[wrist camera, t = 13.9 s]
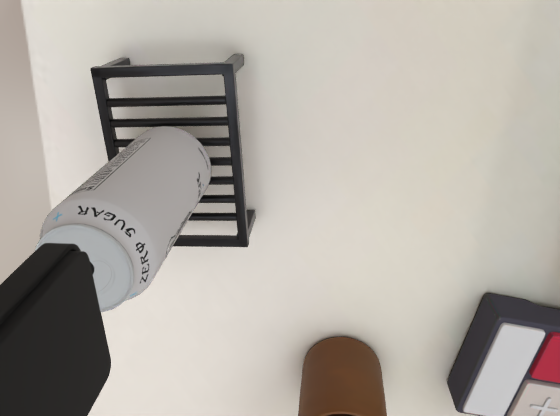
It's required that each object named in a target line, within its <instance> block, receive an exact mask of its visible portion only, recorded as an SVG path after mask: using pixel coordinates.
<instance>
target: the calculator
mask: <svg viewBox="0 0 560 416" xmlns="http://www.w3.org/2000/svg"><path fill="white" fill-rule="evenodd" d="M447 384H448V387H449V390H450V393H451V396H452V399H453V402H454V405H455V408H456V410H457V411H458V412H461V413H466V414H472V415H478V416H560V309H554V308H549V307H543V306H539V305H536V304H534V303H532V302H530V301H527V300H524V299H519V298H513V297H508V296H502V295H497V294H491V293H488V294H486V295H484V297H483V299H482V301H481V304H480V306H479V308H478V311H477V313H476V315H475V318H474V320H473V322H472V325H471V327H470V329H469V332H468V334H467V336H466V339H465V341H464V343H463V346H462V348H461V350H460V353H459V355H458V357H457V360H456V362H455V364H454V367H453V369H452V371H451V373H450V376H449V378H448V381H447Z"/></svg>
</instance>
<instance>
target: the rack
mask: <svg viewBox="0 0 560 416" xmlns="http://www.w3.org/2000/svg"><path fill="white" fill-rule="evenodd" d="M243 65H244V55H243V54H234V55H233V56H231V57H230V58H229V59H228V60H227V61H225V62H220V63H189V64H157V65H130V62H129V58H119V59H117V60H114V61H112V62H109V63H107V64H105V65H102V66H95V67H92V68H91V74H92V79H93V84H94V89H95V94H96V99H97V104H98V109H99V114H100V120H101V125H102V130H103V135H104V140H105V145H106V150H107V155H108V160H109V161H110V160H112V159H113V158H114V157H115V156H116V155H117V154H119V148H118V147H127V146H128V145H129V144H130V143H132V142H133V141H134V140H135V139H117V138H116V132H115V128H117V127H161V126H168V127H173V126H228V128H229V137H224V138H196V139H197V140H198V141H199V142H200V143H201V144H202V146H230V150H231V157H209V159H210V163H211V166H227V165H232V173H233V176H216V177H211V178H210V182H209V184H208V185H227V184H234V195H202V197H201V199H200V201H199V202H198V203H235V206H236V213H192V214H191V216H190V218H189V219H188V221H237V228H238V233H237V236H230V235H179V236H178V238H177V240H176V241H175V243H174V245H173V246H206V247H248V245H249V236H250V233H251V230H252V227H253V224H254V221H255V210H246V198H245V185H244V173H243V161H242V148H241V136H240V123H239V111H238V99H237V86H236V74H235V73H236V72H237V71H238V70H239V69H240V68H241V67H242V66H243ZM219 74H222V76H224V84H225V95H226V96H192V97H151V98H110V99H109V94H108V89H107V83H106V80H107V79H109V78H115V77H149V76H184V75H219ZM181 105H226V106H227V117H197V118H147V119H113V116H112V111H111V107H137V106H181Z"/></svg>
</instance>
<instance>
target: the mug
mask: <svg viewBox="0 0 560 416" xmlns="http://www.w3.org/2000/svg"><path fill="white" fill-rule="evenodd" d="M298 416H387V413H386V404H385V395H384V388H383V380H382V372H381V366H380V363H379V360H378V358H377V356H376V354H375V353H374V351H373V350H372V349H371V348H369V347H368V346H367V345H366V344H364V343H362V342H361V341H358V340H356V339H353V338H348V337H333V338H328V339H325V340H323V341H321V342H319V343H317V344H316V345H315V346H314V347H312V348H311V349H310V351H309V352H308V353H307V355H306V357H305V360H304V363H303V370H302V381H301V390H300V401H299V413H298Z"/></svg>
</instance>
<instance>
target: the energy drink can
mask: <svg viewBox="0 0 560 416" xmlns="http://www.w3.org/2000/svg"><path fill="white" fill-rule="evenodd" d="M210 178H211V163H210V159H209V156H208V154H207V152H206V150H205V149H204V147H203V146H202V144H201V143H200V142H199V141H198V140H197V139H196V138H195V137H194V136H192V135H191V134H189V133H188V132H186V131H184V130H181V129H179V128H175V127H168V126H161V127H155V128H152V129H149V130H147V131H145V132H144V133H142V134H141V135H140V136H139V137H137V138H136V139H135V140H134V141H133V142H132V143H130V144H129V145H128V146H127V147H126V148H124V149H123V150H122V151H121V152H120V153H119V154H117V155H116V156H115V157H114V158H113V159H112V160H110V161H109V162H108V163H107V164H106V165H104V166H103V167H102V168H101V169H100V170H99V171H97V172H96V173H95V174H94V175H93V176H92V177H90V178H89V179H88V180H87V181H86V182H85V183H83V184H82V185H81V186H80V187H79V188H77V189H76V190H75V191H74V192H73V193H72V194H70V195H69V196H68V197H67V198H66V199H65V200H63V201H62V202H61V203H60V204H59V205H57V206H56V207H55V208H54V209H53V210H52V211H51V212H50V213H49V214H48V215H47V217H46V219H45V221H44V223H43V225H42V229H41V233H40V240H39V242H38V244H37V246H36V249H35V251H36V250H37V249H38V248H39V247H40V246H41V245H43V244H44V243H68V244H76V245H78V247H79V248H80V250H81V251H84V252H86V253H87V254H88V257H89V260H90V264H91V269H92V274H93V279H94V283H95V288H96V293H97V297H98V302H99V307H100V311H101V312H104V311H108V310H111V309H114V308H115V307H117V306H119V305H120V304H122V303H123V302H124V301H126V300H129V299H132V298H134V297H136V296H137V295H139V294H141V293H142V292H143V291H144V290H145V289H146V288H147V287H148V286H149V285H150V283H151V282H152V280H153V279H154V277H155V275H156V273H157V272H158V270H159V268H160V267H161V265H162V263H163V262H164V260H165V258H166V257H167V255H168V253H169V251H170V250H171V248H172V246H173V245H174V243H175V241H176V240H177V238H178V236H179V234H180V233H181V231H182V229H183V228H184V226H185V224H186V223H187V221H188V219H189V218H190V216H191V214H192V212H193V211H194V209H195V207H196V206H197V204H198V202H199V201H200V199H201V197H202V195H203V194H204V192H205V190H206V189H207V187H208V184H209V182H210Z"/></svg>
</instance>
